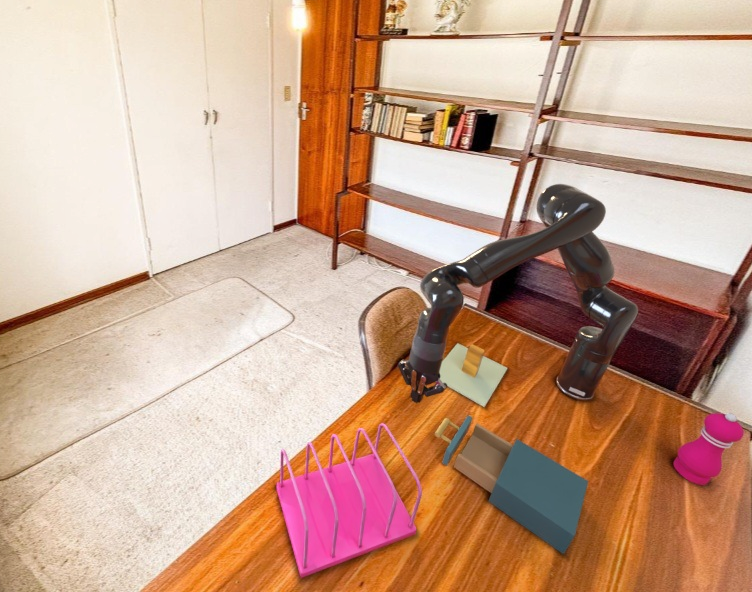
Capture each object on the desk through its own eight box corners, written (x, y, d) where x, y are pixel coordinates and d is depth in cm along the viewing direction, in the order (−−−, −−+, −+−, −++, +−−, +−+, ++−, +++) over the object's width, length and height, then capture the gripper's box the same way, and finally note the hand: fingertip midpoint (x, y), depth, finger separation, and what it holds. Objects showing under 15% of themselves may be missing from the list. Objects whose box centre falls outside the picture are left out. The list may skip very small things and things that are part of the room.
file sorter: (275, 487, 88) (276, 441, 81) (375, 457, 95) (384, 412, 89) (300, 579, 73) (304, 531, 66) (416, 534, 81) (430, 487, 74)
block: (465, 365, 123) (471, 343, 119) (478, 372, 121) (485, 350, 117) (461, 371, 121) (467, 348, 117) (474, 378, 119) (481, 355, 115)
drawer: (425, 451, 96) (429, 438, 94) (448, 417, 105) (452, 405, 103) (501, 504, 86) (506, 490, 84) (519, 462, 95) (525, 448, 93)
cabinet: (488, 501, 87) (495, 482, 84) (509, 456, 97) (516, 438, 94) (563, 554, 78) (574, 536, 75) (577, 499, 88) (588, 481, 85)
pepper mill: (718, 490, 91) (766, 432, 82) (682, 483, 92) (726, 425, 84) (696, 461, 97) (739, 404, 89) (663, 455, 99) (702, 398, 90)
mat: (457, 344, 133) (457, 343, 133) (507, 369, 123) (507, 367, 123) (430, 376, 120) (431, 375, 119) (484, 407, 110) (484, 405, 110)
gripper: (461, 354, 93) (446, 406, 101) (410, 328, 101) (400, 378, 109) (447, 371, 88) (433, 424, 96) (395, 343, 96) (386, 394, 104)
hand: (415, 400), depth 102 cm, fingers closed
